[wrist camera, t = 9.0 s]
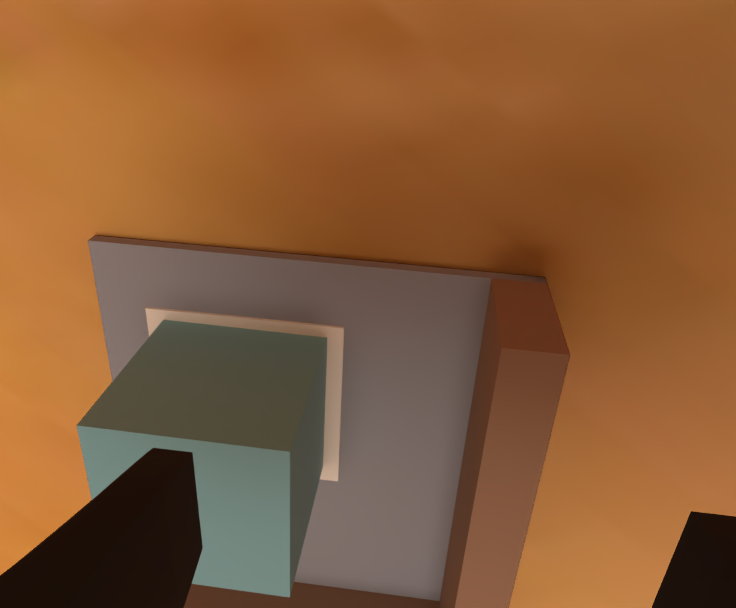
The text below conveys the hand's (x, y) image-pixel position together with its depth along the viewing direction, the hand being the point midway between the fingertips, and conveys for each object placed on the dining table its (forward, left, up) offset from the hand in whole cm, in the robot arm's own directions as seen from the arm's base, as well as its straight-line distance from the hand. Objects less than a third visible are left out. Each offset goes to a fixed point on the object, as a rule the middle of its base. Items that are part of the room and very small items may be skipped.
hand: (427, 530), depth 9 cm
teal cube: (+6, +5, -9) cm, 12 cm away
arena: (+4, +8, -9) cm, 13 cm away
